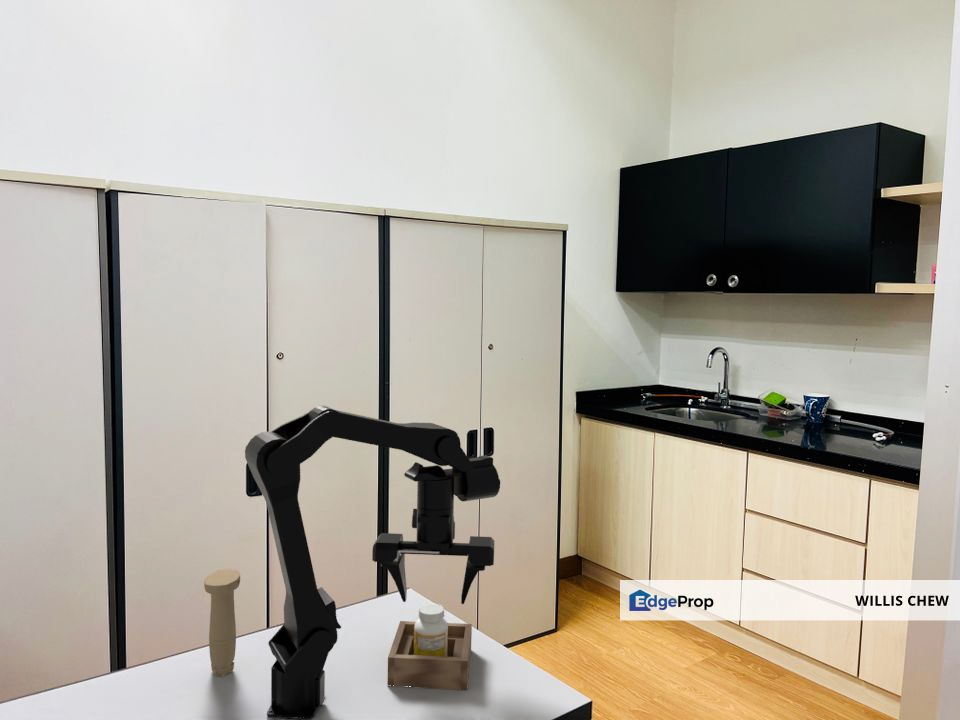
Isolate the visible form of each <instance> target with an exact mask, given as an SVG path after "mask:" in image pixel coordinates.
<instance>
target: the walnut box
mask: <svg viewBox="0 0 960 720" xmlns="http://www.w3.org/2000/svg"><path fill="white" fill-rule="evenodd" d="M399 621H400V622H399V624H398V627H397V629H396V632H395V636H394V638H393V641H392V644H391V647H390V650H389V653H388V656H387V685H391V686H390V687H393V685H394V686H408V687H407V688H415V687H420V688H419V689H435V690H436V689H439V690H442V689H444V690H460V691H468V684H469V683H468V682H469V673H470V664H471V655H472V631H473V629H472V628H473V627H472V626H473V625H472V623H458V622H457V623H456V622H447V624H448V651H447V657H444V656H421V655H414V626H415V623H416V621H412V620H411V621H409V620H399ZM409 686H411V687H409ZM421 687H422V688H421Z"/></svg>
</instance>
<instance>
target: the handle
mask: <svg viewBox="0 0 960 720" xmlns="http://www.w3.org/2000/svg"><path fill="white" fill-rule="evenodd" d="M240 582H241V573H240V570H238V569H232V568H231V569H230V568H229V569H228V568H226V569H225V568H224V569H218V570H215V571H213V572H211V573H208V574H207V576H206V577H205V578H204V583H203V587H204V590H205V591H204V592H206V593H207V594H209V595H210V615H209V617H210V618H209V633H208V643H209V644H208V647H209V658H210V665H211V672H213V675H214V676H223V677H224V676H227V674H229V673H231V672H233V670H234V669H235V668H234V667H235V662H234V661H235V657H236V647H237V646H236V645H237V638H236V637H237V628H236V627H237V626H236V614H235V591H236V590H237V589H238V588H239V586H240Z"/></svg>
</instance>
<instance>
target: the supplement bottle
mask: <svg viewBox="0 0 960 720" xmlns="http://www.w3.org/2000/svg"><path fill="white" fill-rule="evenodd" d="M444 617H445V607H443V605H441V604H438V603H434V602H433V603H424V604H422V605H421V606H419V608H418V619H417V620H415V622H416V623H415V626H414V655H421V656H444V657H447V651H448V624H447V623H448V622H447V620H446V619H444Z"/></svg>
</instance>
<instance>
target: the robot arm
mask: <svg viewBox="0 0 960 720" xmlns="http://www.w3.org/2000/svg"><path fill="white" fill-rule="evenodd" d="M458 434H459V433H457V431H455V430H453V429H450V428H448V427H445V426H442V425H439V424H437V423H433V422H408V423H398V422H392V421H390V420H384V419H380V418H374V417H369V416H364V415H361V414H357V413H351V412H347V411H341V410H338V409H337V410H336V409H334V408H331V407H329V406H327V405H326V406H325V405H317V406H314V407H313V408H312V409H310V410H309V411H307V412H306V413H304V414H302V415H300V416H298V417H296V418H294V419H291V420H289V421H287V422H285V423H283V424H280V425H278V427H275V428H274V429H273V430H271V431H263V432H260V433H258V434H255V435H254V436H253V437H251V439H250V440H249V442H248V443H247V444H246V445H245V449H244V457H245V461H246V463H247V465H248V467H249V471H250V472H251V475H252V477H253V480H254V481H255V483H256V485H257V487H258V488H259V490H260V491H259V492H260V493H261V494H262V496H263V498H264V501H265V503H266V508H267V511H268V512H267V513H268V517H269V521H270V524H271V530H272V534H273V539H274V543H275V548H276V552H277V557H278V561H279V566H280V569H281V574H282V577H283V578H282V579H283V582H284V586H285V587H284V588H285V598H284V605H283V625H281V627H280V628H279V629H278V630H277V632H276V633H275V634H274V635H273V636H272V637H271V638H270V639H269V641H268V646H269V649H270V651H271V654H272V655H273V656H274V658H275V659H276V660H275V662H274V663H273V665H272V666H271V667H270V670H271V673H270V676H271V679H270V681H271V682H270V683H271V684H270V687H271V688H270V692H271V694H270V695H271V697H270V698H271V699H270V703H271V704H270V705H269V708H268V710H267V711H266V716H267V717H268V718H284V719H285V718H287V719H304V720H305V719H306V720H309V719H310V720H311V719H313V718H314V717H315V714H316V712H317V710H318V708H320V707H321V705H322V702H323V701H324V698H325V695H326V694H325V692H326V691H325V690H326V689H325V686H326V685H325V684H326V683H325V680H326V672H325V670H324V668H325V665H326V662H327V658H328V656H329V653H330V652H331V650H333V648H334V646H335V644H337V642H338V629H342V626H341V624H340V623H339V622H338V619H337V607H336V602H335V600H334V599H333V598H332V597H331V596H330V595H329V594H328V592H327V591H326V590H325V589H324V588H323V587H322V586H321V587H319V588H318V586H317V582H316V577H315V573H314V568H313V563H312V558H311V554H310V548H309V545H308V540H307V536H306V531H305V526H304V523H303V521H304V520H303V517H302V512H301V507H300V502H299V490H300V483H301V464H302V463H304V462H306V461H307V460H308V459H310V458H311V457H312V456H314V454H316V453H317V451H318V450H319V449H320V448H321V447H322V446H323V445H324V444H325V443H326V442H328V441H329V440H331V439H332V438H336V439H342V440H346V441H352V442H357V443H362V444H366V445H367V444H368V445H374V446H378V447H384V448H389V449H395V450H399V451H402V452H405V453H408V454H409V455H410V454H411V455H412V456H415V457H418V458H420V459H421V460H425V461H427V462H430V463H432V464H435V465H428V466H424V465H423V464H421V463H419V462H414V463H413V465H412V466H411V467H410V468H408V469H407V470H406V471H405V472H404V477H405V478H407V479H409V480H411V481H412V482H415V483H416V482H417V488H416V489H417V492H416V493H417V495H416V496H417V497H416V499H417V501H416V508H413V509H412V518H411V528H412V529H416V541H412V540H409V541H408V540H407V541H406V540H404V536H403V533H392V532H391V533H390V532H389V533H387V532H386V533H385V532H382V533H380V534H379V535H378V536H377V538H376V540H375V542H374V543H373V546H372V555H371V556H372V561H373V562H375V563H380V567H382V568H386V569H387V571H388V572H389V574H390V576H391V577H392V579H393V581H394V583H395V585H396V588H397V590H398V592H399V595H400V597H401V600H402V602H403V603H406V601H407V598H408V597H407V595H408V593H407V591H408V590H407V578H406V568H405V566H406V565H405V559H406V558H405V557H406V556H405V555H426V556H427V555H429V556H431V555H432V556H451V557H452V556H457V557H458V556H459V557H467V560H466V566H465V573H464V576H463V577H464V579H463V584H462V591H461V601H460V603H461V605H465V602H466V599H467V596H468V595H469V591H470V588H471V586H472V583H473V581H474V579H476V576H477V574H478V572H483V571H486V567H491V566H494V563H495V561H494V560H495V540H494V539H493V537H492V536H475V535H474V536H473V535H471V536H469V542H466V543H465V542H454V540H455V538H456V536H455V535H456V534H455V533H456V522H455V516H454V515H455V513H454V512H455V511H454V505H455V503H454V502H455V501H454V500H455V497H457V499H458V500H459V501H460V502H470V501H476V500H477V501H478V500H484V499H489V498H494V497H497V495H498V494H499V493H500V488H501V479H500V477H499V473H498V470H497V468H496V467H495V465H494V457H492V456H489V455H487V454H486V455H479V456H477V457H471V458H469V457H468V455H467V454H466V452H465V451H464V450H463V448H462V447H461V446H462V444H461V439H460V437H459V435H458ZM446 466H448V467H451V468H443V467H446Z"/></svg>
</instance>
